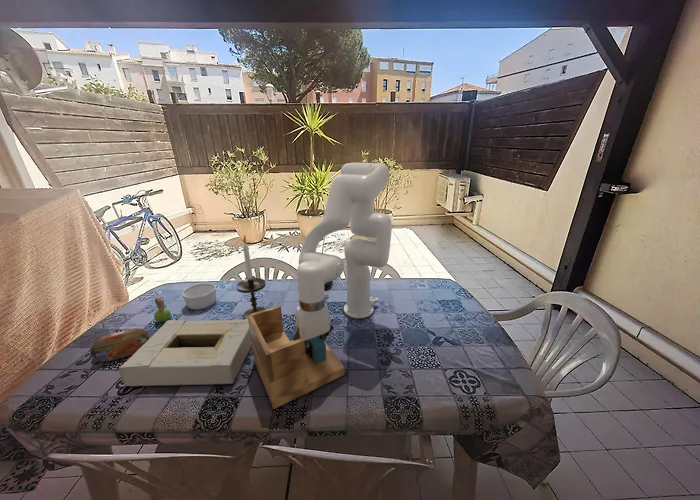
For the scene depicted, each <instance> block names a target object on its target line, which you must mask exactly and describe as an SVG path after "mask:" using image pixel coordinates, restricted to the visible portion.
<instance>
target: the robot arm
mask: <svg viewBox="0 0 700 500" xmlns="http://www.w3.org/2000/svg"><path fill="white" fill-rule="evenodd" d="M389 180H390V170H389V167H388V166H387V165H386V164H384V163H382V162H356V161H355V162H348V163H345V164H343V165H342V166H341V169H340V174H338V175H336V176H335V177H334V178H333V179H332V182H331V185H330V189H329V193H328V197H327V201H326V205H325V209H324V213H323V216H322V218H321V220H320V221H318V222H317V223H316V224H315V225H314V226H313V227H312V228H311V229H310V231H309V232H308V233H307V234H306V236H305V237H304V239H303V242H302V245H301V249H300V252H299V257H298V266H297V268H296V276H297V289H298V302H299V305H297V307H296V312H295V334H294V335H293V339H292V340H293V341H295V340H298V339H301V338H303V339H304V340H305V353H306V355H307V354H308V356H309V357H310V358H311V357H312V349H311V346H310V339H311V338H314V337H317V336H319V337H320V338H321V339H322V340H323V342H324V343H326V341H327V338H328V336H329V334H330V333H331V332H332V331H334V329H335V326H334V325H333V324H332V323H331V315H330V311H329V306H328V304H327V302H326V300H327V299H329V297H330V296H329V294H328V293H325V289H324V284H325V283H327V282H330V281H332V280H333V281H335V280H337V279H338V278H339V277H341V275H342V274H343V272H344V271H345V263H346V292H347V293H346V298H347V299H346V301H347V302H346V304H345V305H344V306H343V313H344V314H345V315H346V316H347V317H349V318H351V319H366V318H368V317H370V316H372V314H373V313H374V306H373V305H374V304H376V303H379V302H380V299H379V297H373V296H371V276H372V275H371V270H370V267H374V268H384V267H386V265H387V264H388V262H389V257H390V253H391V252H390V251H391V240H392V230H393V229H392V228H393V223H392V219H391V217H390V215H388V214H386V213H383V212H375V199H377V197H378V196H379V195H380V194H381V193H382V192H383V190H384V189H385V188H386V186H387V185H388V183H389ZM348 227H349V229H350V232H351V234H353V235H354V236H358V237H363V238H371V239H375V241H374V240H369V239H363V238H362V239H361V238H352V239H349V240H348V241H347V242H346V243H345V245H344V249H343V251H344V253H343V255H344V259H345V263H344V260H343V258H341V257H340V256H337V255H334V254H329V253H325V252H319V251H317V248H318V246H319V243H320V242H321V241H322V240H323V239H324V238H326V237H327V236H329V235H330V234H331V235H332V234H333V233H336V232H339V231H342V230H345V229H347V228H348ZM369 266H370V267H369ZM333 281H332V282H333Z"/></svg>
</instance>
